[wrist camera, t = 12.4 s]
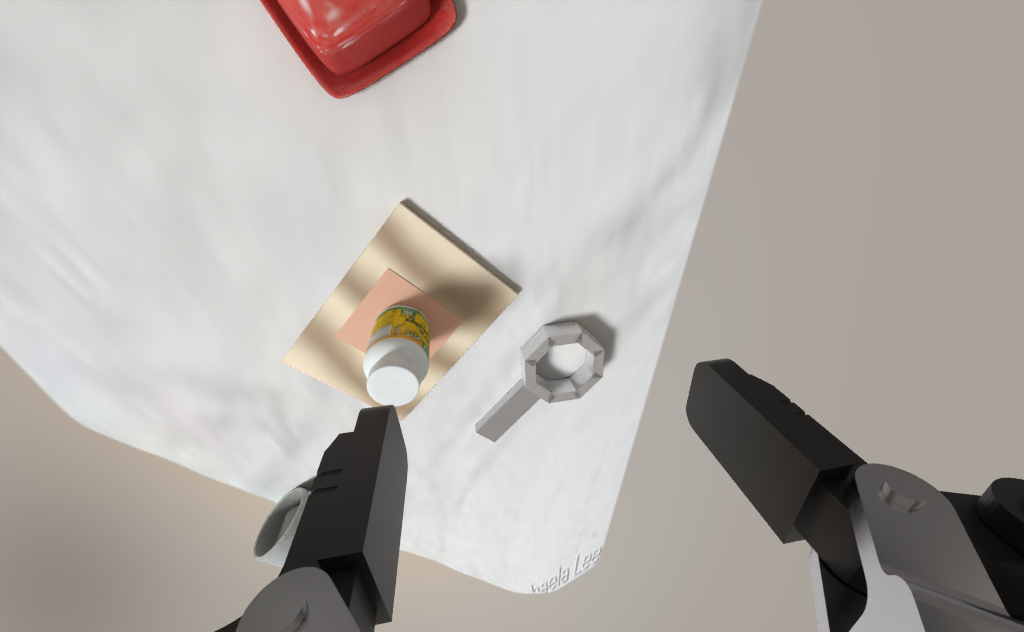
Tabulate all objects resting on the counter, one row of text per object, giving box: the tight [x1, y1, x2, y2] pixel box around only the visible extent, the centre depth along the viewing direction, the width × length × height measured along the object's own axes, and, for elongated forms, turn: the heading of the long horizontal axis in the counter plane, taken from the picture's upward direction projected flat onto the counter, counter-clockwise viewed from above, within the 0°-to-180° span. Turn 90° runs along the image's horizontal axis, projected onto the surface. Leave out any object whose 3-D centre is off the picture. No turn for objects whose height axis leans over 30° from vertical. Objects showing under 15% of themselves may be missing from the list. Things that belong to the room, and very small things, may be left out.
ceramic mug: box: [253, 487, 311, 568], centre depth 45 cm, size 11×8×8 cm
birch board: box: [281, 202, 518, 421], centre depth 38 cm, size 20×14×1 cm
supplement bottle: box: [363, 305, 430, 406], centre depth 33 cm, size 5×5×10 cm
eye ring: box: [475, 321, 605, 442], centre depth 44 cm, size 18×9×2 cm, turn 138°
